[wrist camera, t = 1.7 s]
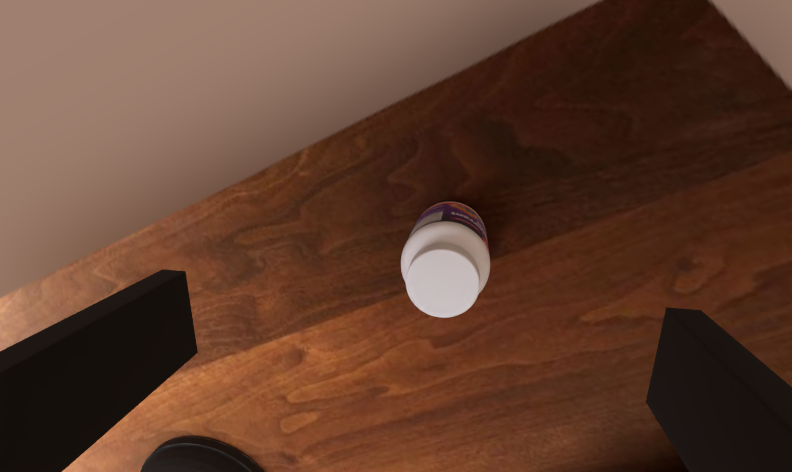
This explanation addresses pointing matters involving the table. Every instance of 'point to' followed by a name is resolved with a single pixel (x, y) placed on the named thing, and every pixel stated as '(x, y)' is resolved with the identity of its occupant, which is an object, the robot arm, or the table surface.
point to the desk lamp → (198, 457)
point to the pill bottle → (446, 259)
